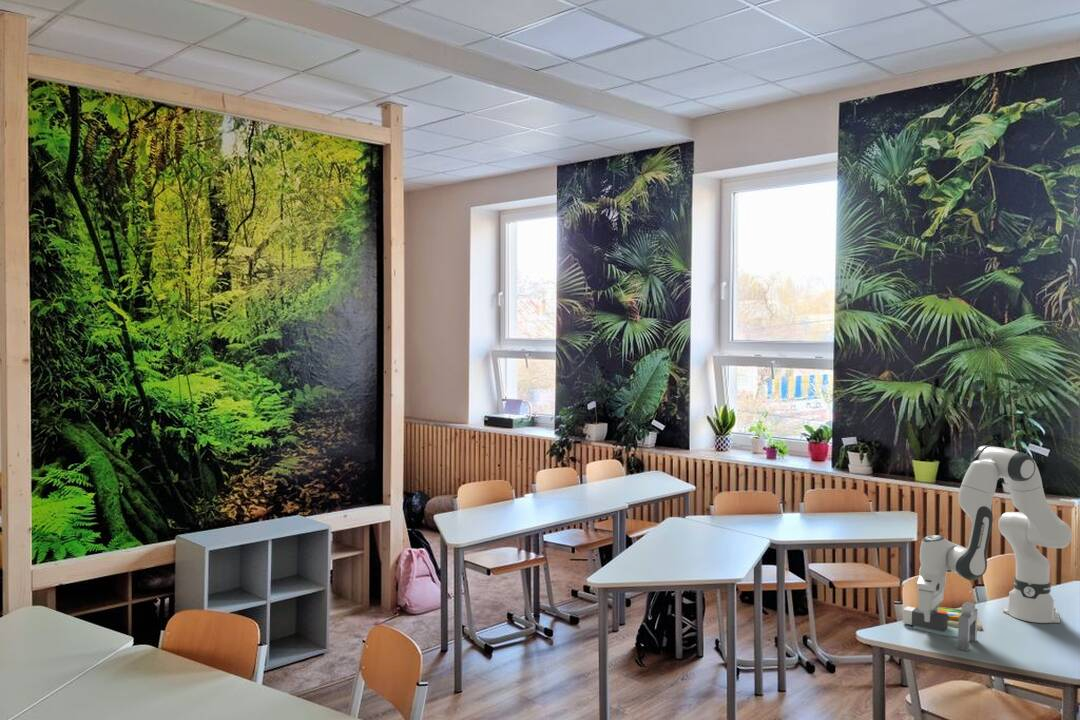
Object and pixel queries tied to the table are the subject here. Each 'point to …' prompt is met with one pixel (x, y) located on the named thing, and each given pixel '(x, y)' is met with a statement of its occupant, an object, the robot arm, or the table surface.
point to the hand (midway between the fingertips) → (931, 618)
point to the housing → (967, 626)
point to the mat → (948, 632)
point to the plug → (917, 619)
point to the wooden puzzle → (955, 617)
